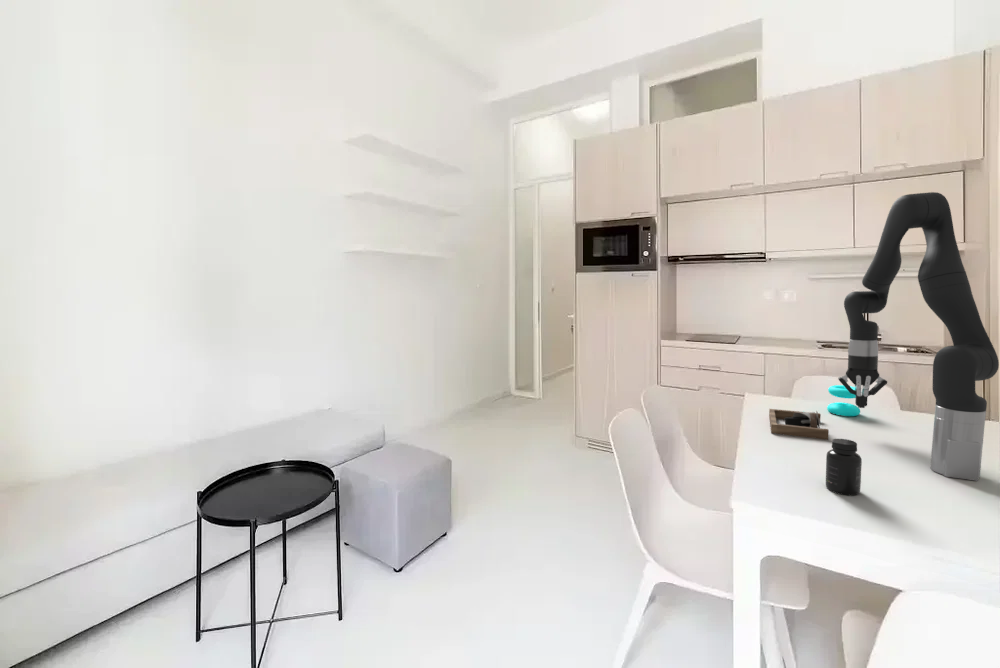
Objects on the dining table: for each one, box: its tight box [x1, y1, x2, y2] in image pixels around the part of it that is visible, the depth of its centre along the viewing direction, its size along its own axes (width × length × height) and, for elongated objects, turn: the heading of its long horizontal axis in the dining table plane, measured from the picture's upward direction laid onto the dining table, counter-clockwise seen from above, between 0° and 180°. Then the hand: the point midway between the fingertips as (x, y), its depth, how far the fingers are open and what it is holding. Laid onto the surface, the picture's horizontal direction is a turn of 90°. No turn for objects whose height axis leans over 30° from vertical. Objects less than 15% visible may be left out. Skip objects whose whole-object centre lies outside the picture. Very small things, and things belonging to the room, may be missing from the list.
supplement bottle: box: [825, 438, 863, 496], centre depth 112 cm, size 7×7×12 cm
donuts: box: [826, 384, 862, 417], centre depth 174 cm, size 10×10×10 cm
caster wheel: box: [784, 410, 821, 428], centre depth 158 cm, size 7×11×10 cm
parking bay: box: [768, 408, 830, 441], centre depth 160 cm, size 21×16×3 cm
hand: (861, 407), depth 151 cm, fingers closed
